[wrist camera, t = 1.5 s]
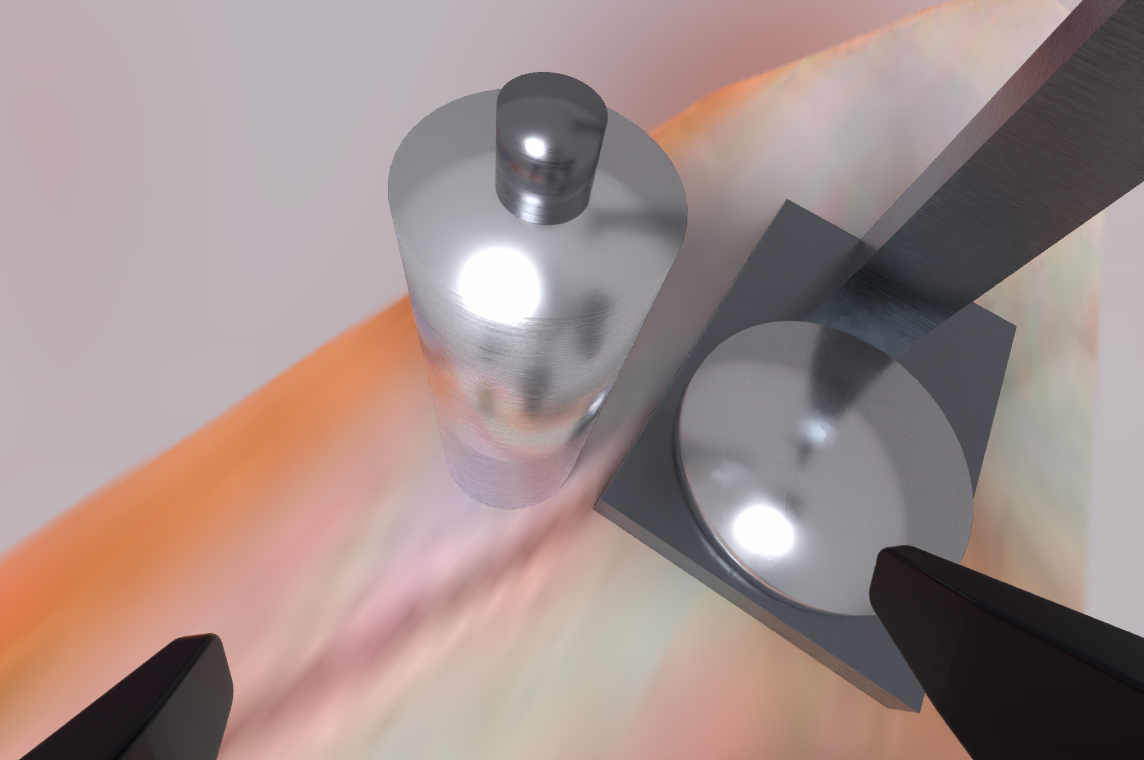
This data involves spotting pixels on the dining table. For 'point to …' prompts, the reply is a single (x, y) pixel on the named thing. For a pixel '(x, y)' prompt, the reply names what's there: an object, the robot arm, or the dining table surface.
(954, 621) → the robot arm
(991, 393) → the stand
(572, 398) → the silver metal bottle
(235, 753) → the dining table surface
